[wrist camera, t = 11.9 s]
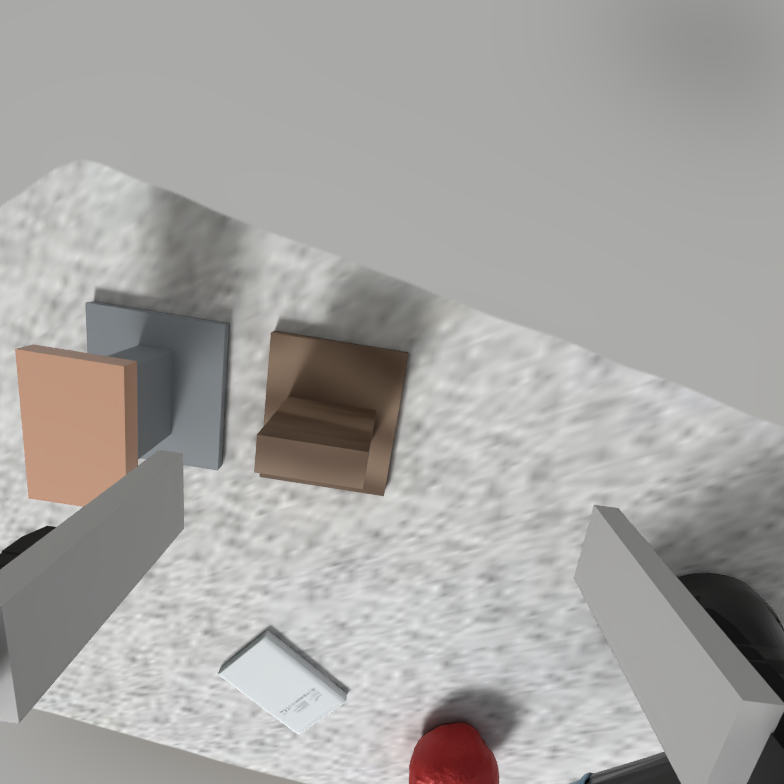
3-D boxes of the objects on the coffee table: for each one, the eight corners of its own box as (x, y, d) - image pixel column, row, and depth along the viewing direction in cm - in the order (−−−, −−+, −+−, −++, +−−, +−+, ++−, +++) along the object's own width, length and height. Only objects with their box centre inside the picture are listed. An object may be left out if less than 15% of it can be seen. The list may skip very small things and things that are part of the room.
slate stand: (221, 465, 44) (171, 524, 34) (98, 446, 44) (12, 500, 34) (229, 323, 40) (174, 345, 30) (93, 301, 40) (-6, 316, 30)
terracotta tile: (137, 361, 31) (123, 366, 29) (138, 502, 34) (126, 513, 32) (33, 344, 31) (15, 348, 29) (44, 487, 34) (28, 498, 32)
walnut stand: (384, 490, 44) (378, 556, 35) (262, 471, 44) (223, 532, 34) (408, 352, 40) (409, 383, 31) (274, 330, 40) (233, 355, 30)
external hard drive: (269, 625, 50) (348, 689, 53) (222, 663, 52) (300, 724, 54) (265, 637, 49) (346, 703, 51) (216, 676, 51) (297, 738, 53)
